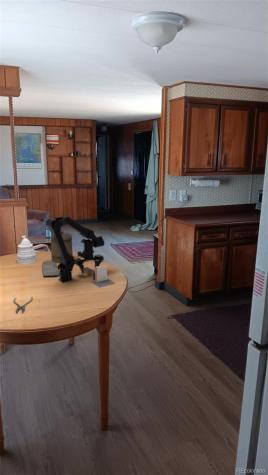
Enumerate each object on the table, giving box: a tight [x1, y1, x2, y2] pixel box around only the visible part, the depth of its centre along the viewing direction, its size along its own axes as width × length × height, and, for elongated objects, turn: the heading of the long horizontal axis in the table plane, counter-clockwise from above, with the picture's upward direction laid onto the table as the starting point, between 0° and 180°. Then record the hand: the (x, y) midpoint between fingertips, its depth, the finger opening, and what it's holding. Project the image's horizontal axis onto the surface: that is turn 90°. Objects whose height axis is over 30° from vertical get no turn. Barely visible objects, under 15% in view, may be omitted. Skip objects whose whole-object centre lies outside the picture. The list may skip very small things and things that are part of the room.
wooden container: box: [50, 229, 73, 264], centre depth 247 cm, size 15×15×22 cm
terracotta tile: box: [94, 264, 108, 282], centre depth 207 cm, size 7×2×9 cm, turn 126°
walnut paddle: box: [84, 266, 95, 281], centre depth 216 cm, size 16×6×5 cm, turn 36°
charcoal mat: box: [90, 278, 116, 288], centre depth 204 cm, size 11×11×1 cm
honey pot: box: [16, 235, 37, 265], centre depth 244 cm, size 13×13×18 cm
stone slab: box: [41, 260, 60, 278], centre depth 228 cm, size 10×3×30 cm
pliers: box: [13, 296, 33, 314], centre depth 175 cm, size 10×1×20 cm
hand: (89, 272), depth 219 cm, fingers open, 9 cm apart
